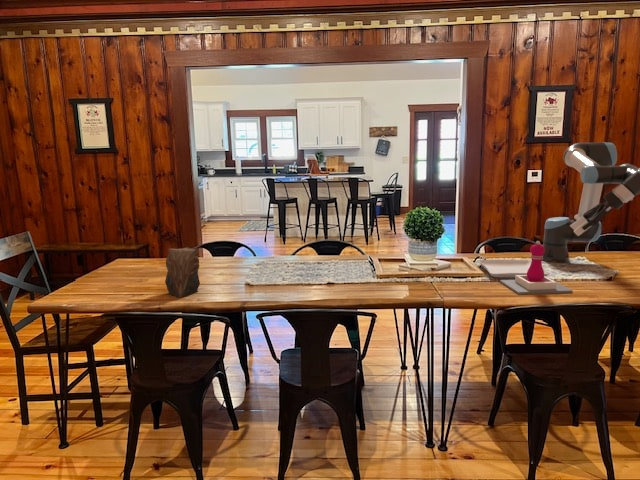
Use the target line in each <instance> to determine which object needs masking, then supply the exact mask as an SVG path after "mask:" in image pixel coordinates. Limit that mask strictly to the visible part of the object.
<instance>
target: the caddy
mask: <svg viewBox="0 0 640 480" xmlns="http://www.w3.org/2000/svg"><path fill="white" fill-rule="evenodd" d="M528 279H529V278H528V277H527V275H515V278H514V279H499V283H500V284H502V285H503V286H505V287H506V288H508V289H509V290H511V291H512V292H513V293H515V294H517V295H541V294H544V295H545V294H547V295H548V294H572V293H573V290H572V289H570V288H569V287H567V286H565V285H563V284H560V283H559V282H557V281H556V280H553V279H551V278H549V277H548V276H546V277H545V276H544V278H543V279H542V281H543V282H529V281H527V280H528Z"/></svg>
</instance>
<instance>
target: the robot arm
mask: <svg viewBox="0 0 640 480" xmlns="http://www.w3.org/2000/svg"><path fill="white" fill-rule="evenodd" d="M562 160H563V162H564V164H565V165H566V166H568V167H570V168H574V169H575V170H576V171H577V172H578V173H580V174H579V176H580V181H581V183H583V185H582V186H583V187H582V191H581V197H580V203H579V207H578V213H576V214H575V215H574V217H573V219H570V217H566V216H558V217H556V216H555V217H549V218H547V219H546V221H545V224H544V230H543V243H542V246H544V248H545V253H544V254H543V259H542V261H544V262H549V263H559V264H560V263H568V262H570V254H569V250H568V242H573V243H574V242H579V243H592V242H596V241H598V239H599V238H600V236H601V234H602V227H603V226H602V222H601V221H602V220H603V219H604V218H605V217H606V216H607V215H608V214H609V213H610V212H612V211H613V210H614V209H615V210H616V211H617V210H619V209H620V208H622V207H623V206H624V205H625V204H626V203H628V202H629V201H633V200H634V197H635V198H636V196H638V195H639V194H640V167H637V166H636V165H634V164H630V163H624V164H623V163H622V164H620V165H616V164H617V161H618V152H617V147H616V145H615V144H614V143H613V142H605V141H601V142H600V141H598V142H576V143H574V144H572V145H570V146H568V147H567V148H566V149H565V150H564V152H563V155H562ZM604 184H618V185H616V186H615V187H614V188H613V189H612V191H609V192H608V193H605V195H604V196H603V199H604V200H605V201H601V202H600V199H601V195H602V191H603V186H604Z"/></svg>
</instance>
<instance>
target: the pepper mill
mask: <svg viewBox="0 0 640 480" xmlns="http://www.w3.org/2000/svg"><path fill="white" fill-rule="evenodd" d="M529 252H530V253H531V254H530V259H531V260H530V261H531V265H530V267H529V269H528V271H527V277H528V278H529V279H528V280H527V281H529V282H543V281H542V279H543V278H544V271H543V269H544V268H543V265H542V264H543V263H542V261H543V260H542V259H543V254H544V253H545V248H544V246H543V244H541V242H540V241H539V240H536V242H535V244H532V245H531V246H530V249H529Z"/></svg>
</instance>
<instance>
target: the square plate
mask: <svg viewBox="0 0 640 480" xmlns="http://www.w3.org/2000/svg"><path fill="white" fill-rule="evenodd" d="M531 261H532V260H529V259H527V260H524V259H481V260H477V262H478V263H479V264H480V266H481V267H482V268H484V269H485V270H486V271H487V272H488V273H489V275H490V276H491V277H493V278H500V279H501V278H502V279H515V275H527V271H528V269H529V267H530V265H531ZM543 271H544V276H545V277H548V276H549V275H550V273H549V272H548V271H547V270H545V269H544V268H543Z"/></svg>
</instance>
